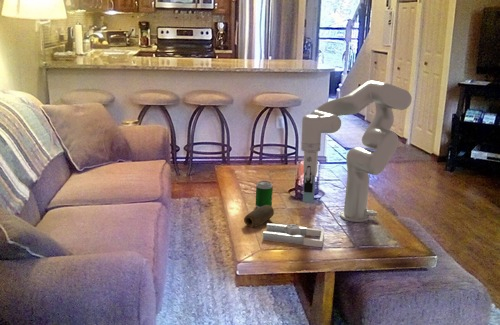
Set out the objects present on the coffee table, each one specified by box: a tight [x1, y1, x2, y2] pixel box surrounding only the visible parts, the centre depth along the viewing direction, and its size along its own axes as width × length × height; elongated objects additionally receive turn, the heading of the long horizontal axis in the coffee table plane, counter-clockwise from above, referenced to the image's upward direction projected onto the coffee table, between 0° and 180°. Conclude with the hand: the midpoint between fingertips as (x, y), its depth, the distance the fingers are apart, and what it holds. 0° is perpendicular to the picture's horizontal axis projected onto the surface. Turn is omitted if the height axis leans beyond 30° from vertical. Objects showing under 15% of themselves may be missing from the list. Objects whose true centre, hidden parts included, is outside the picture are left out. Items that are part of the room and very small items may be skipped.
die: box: [284, 223, 301, 235], centre depth 200 cm, size 5×5×5 cm
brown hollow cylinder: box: [243, 205, 275, 228], centre depth 214 cm, size 15×7×7 cm, turn 148°
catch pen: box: [303, 227, 325, 248], centre depth 199 cm, size 7×11×2 cm, turn 168°
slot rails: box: [262, 222, 308, 246], centre depth 201 cm, size 16×10×3 cm, turn 78°
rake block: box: [302, 174, 316, 204], centre depth 204 cm, size 4×6×12 cm, turn 168°
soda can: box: [255, 180, 274, 209], centre depth 230 cm, size 8×8×12 cm
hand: (308, 188), depth 205 cm, fingers closed on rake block, 6 cm apart
